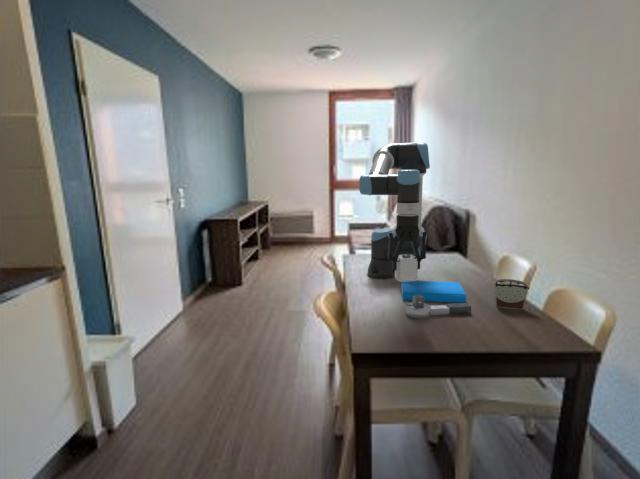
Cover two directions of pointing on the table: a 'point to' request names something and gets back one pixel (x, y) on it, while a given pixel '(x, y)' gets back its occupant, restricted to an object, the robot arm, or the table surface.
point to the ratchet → (434, 308)
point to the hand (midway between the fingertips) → (405, 278)
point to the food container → (510, 293)
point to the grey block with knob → (407, 267)
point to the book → (434, 291)
